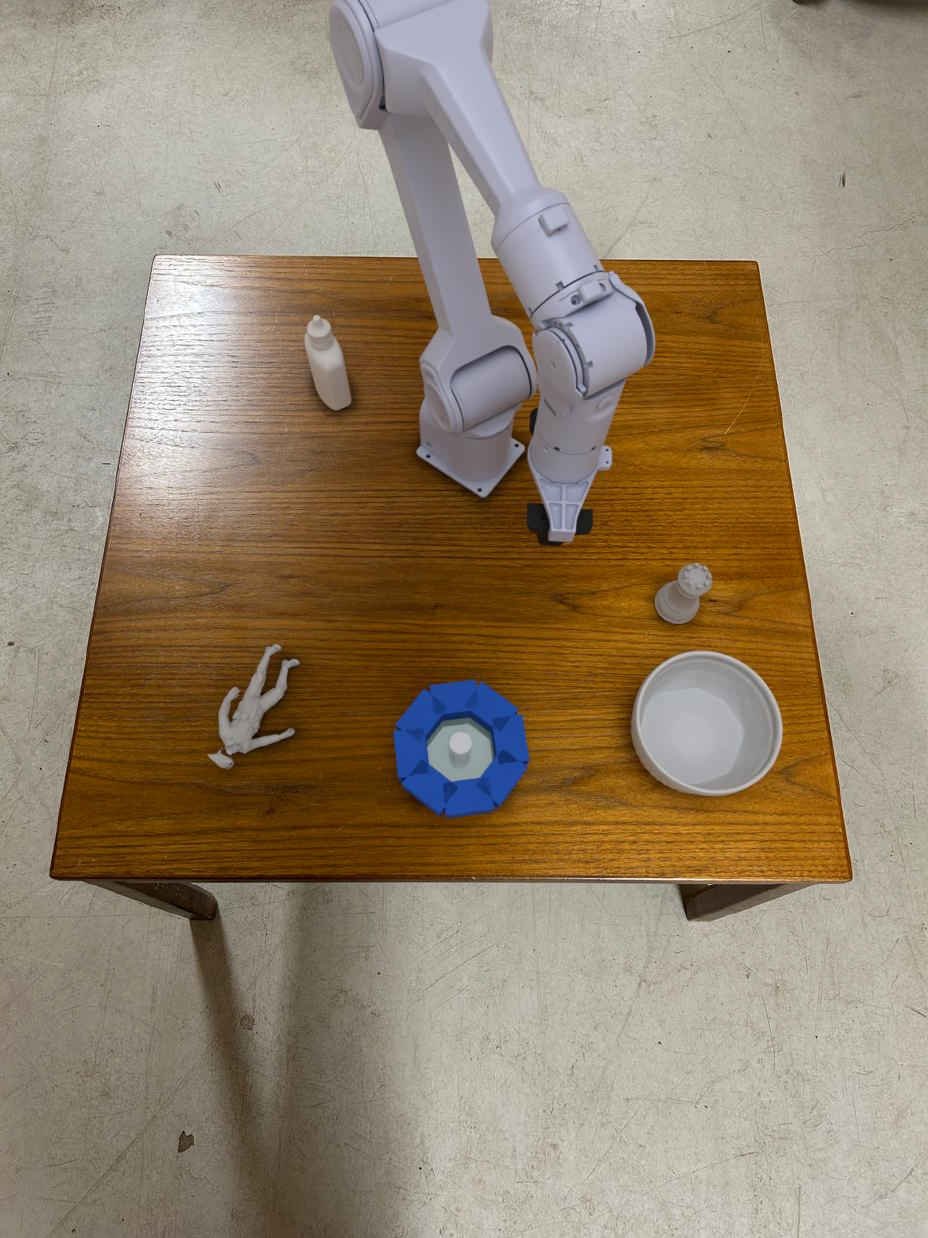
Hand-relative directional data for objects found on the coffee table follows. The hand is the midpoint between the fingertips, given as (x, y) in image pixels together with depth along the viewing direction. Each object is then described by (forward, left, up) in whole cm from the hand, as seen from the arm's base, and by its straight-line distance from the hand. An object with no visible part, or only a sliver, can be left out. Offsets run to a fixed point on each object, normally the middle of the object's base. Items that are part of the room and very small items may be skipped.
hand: (550, 505), depth 74 cm
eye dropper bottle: (-30, +2, -10) cm, 32 cm away
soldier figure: (-12, -31, -10) cm, 35 cm away
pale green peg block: (+6, -23, -9) cm, 26 cm away
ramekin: (+23, -8, -10) cm, 26 cm away
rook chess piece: (+15, +3, -10) cm, 18 cm away
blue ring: (+7, -23, -5) cm, 25 cm away
